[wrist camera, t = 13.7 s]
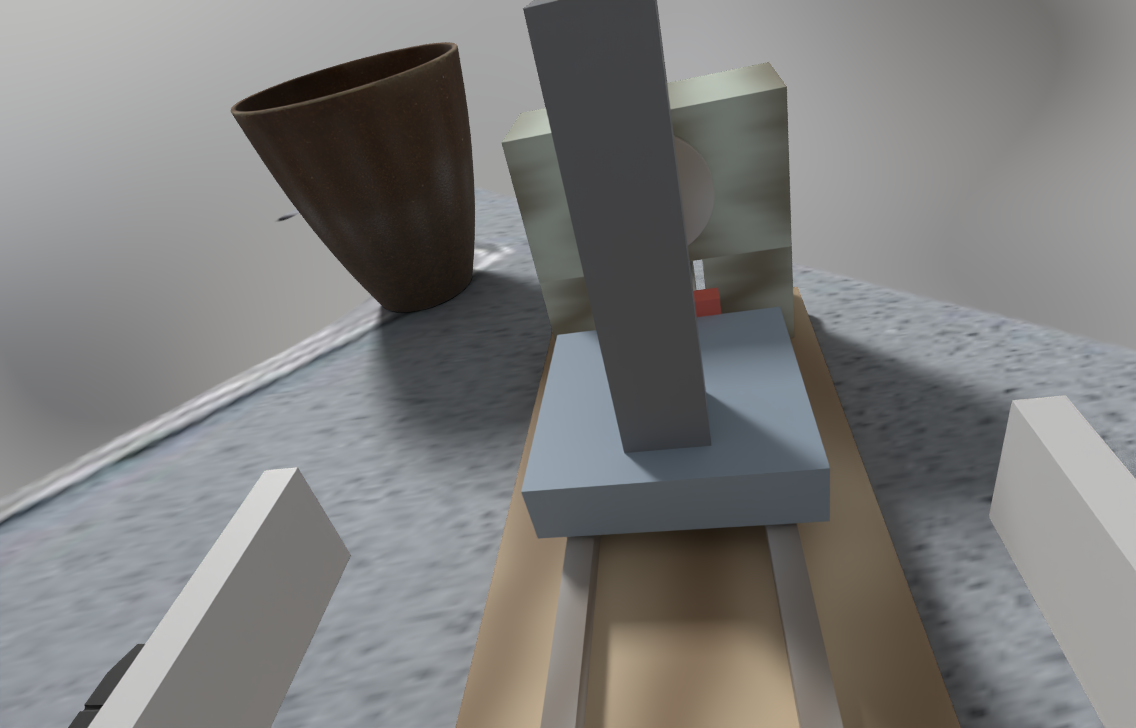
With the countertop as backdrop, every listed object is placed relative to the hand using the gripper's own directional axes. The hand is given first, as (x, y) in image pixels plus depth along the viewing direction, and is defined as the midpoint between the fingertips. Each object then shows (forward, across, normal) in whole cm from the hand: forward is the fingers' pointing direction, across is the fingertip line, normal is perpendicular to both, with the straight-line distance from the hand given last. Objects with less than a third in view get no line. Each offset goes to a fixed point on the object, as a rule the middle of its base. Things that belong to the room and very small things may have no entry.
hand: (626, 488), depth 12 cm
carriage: (+11, 0, -9) cm, 14 cm away
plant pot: (+35, -19, -12) cm, 41 cm away
